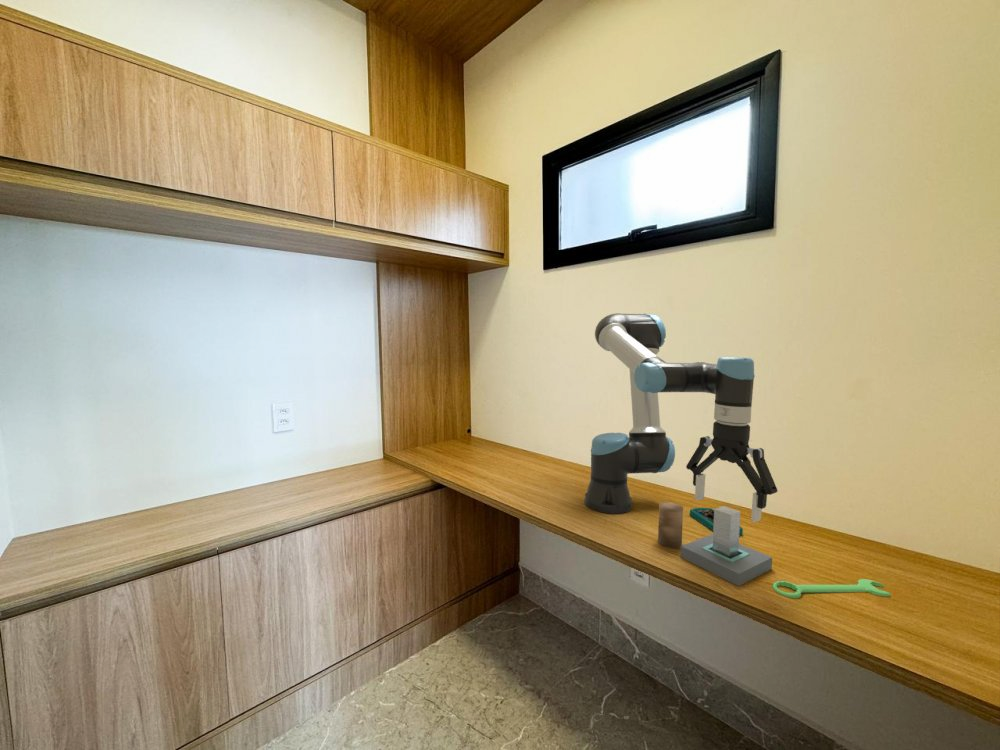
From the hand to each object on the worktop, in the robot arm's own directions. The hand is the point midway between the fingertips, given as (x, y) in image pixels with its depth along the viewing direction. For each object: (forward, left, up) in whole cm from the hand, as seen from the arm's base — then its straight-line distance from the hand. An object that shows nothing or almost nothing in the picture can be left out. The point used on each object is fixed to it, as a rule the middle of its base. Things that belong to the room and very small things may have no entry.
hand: (725, 509), depth 95 cm
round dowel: (-13, -3, -13) cm, 18 cm away
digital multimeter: (-13, +18, -14) cm, 26 cm away
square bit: (0, 0, -13) cm, 13 cm away
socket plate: (0, 0, -13) cm, 13 cm away
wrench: (+18, +9, -14) cm, 24 cm away
